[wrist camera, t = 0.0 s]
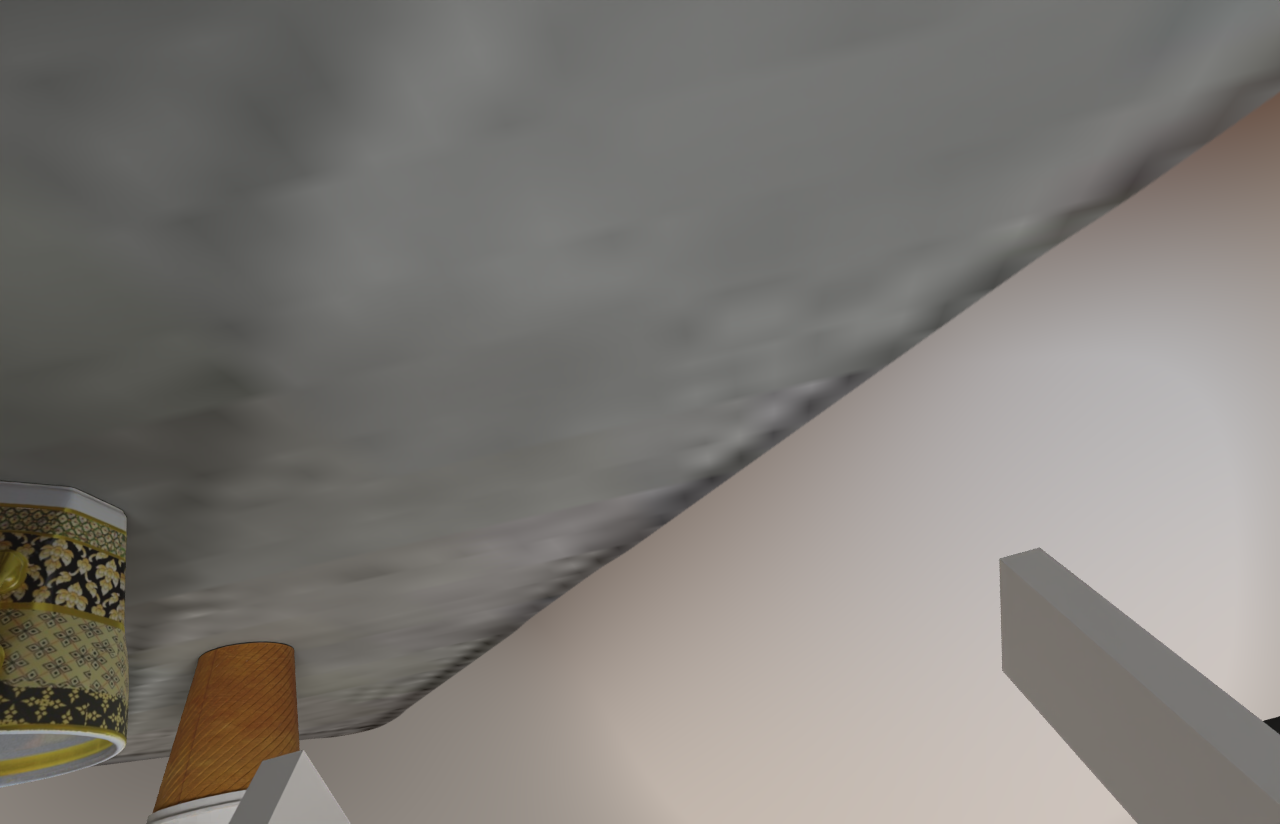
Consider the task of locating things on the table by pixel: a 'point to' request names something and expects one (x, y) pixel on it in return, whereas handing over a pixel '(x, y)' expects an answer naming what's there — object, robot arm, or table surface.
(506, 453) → the table surface
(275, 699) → the disposable coffee cup
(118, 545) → the ceramic cup
